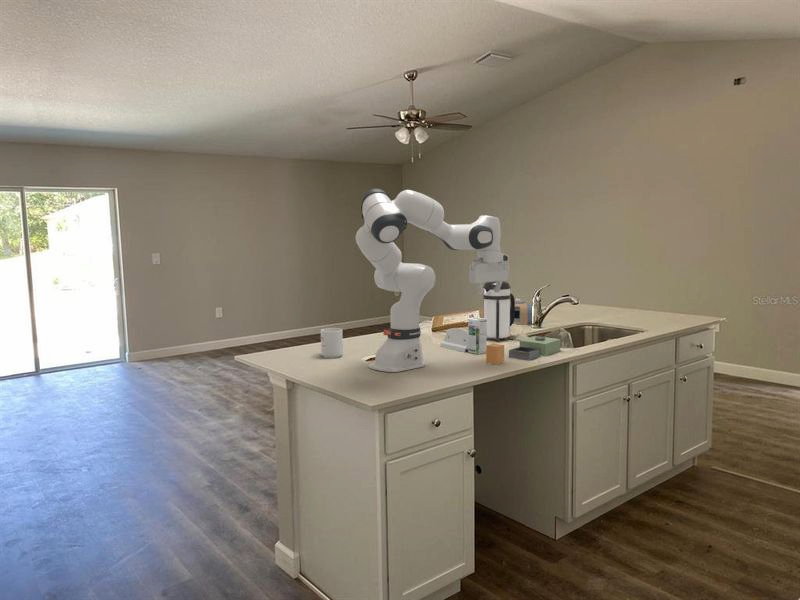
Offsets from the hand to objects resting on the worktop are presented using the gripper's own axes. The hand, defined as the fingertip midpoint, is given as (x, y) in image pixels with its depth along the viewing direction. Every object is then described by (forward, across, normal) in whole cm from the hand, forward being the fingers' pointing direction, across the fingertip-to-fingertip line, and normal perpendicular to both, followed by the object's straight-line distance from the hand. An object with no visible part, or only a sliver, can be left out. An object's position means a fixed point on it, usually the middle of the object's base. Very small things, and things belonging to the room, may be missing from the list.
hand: (489, 293), depth 234 cm
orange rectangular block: (+27, -1, -4) cm, 27 cm away
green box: (+27, +28, -4) cm, 39 cm away
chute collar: (+27, +16, -5) cm, 32 cm away
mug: (+27, -39, +52) cm, 71 cm away
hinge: (+27, +9, +25) cm, 38 cm away
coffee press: (+27, +38, +27) cm, 54 cm away
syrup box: (+27, +9, +14) cm, 32 cm away
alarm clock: (+28, +82, +49) cm, 100 cm away
